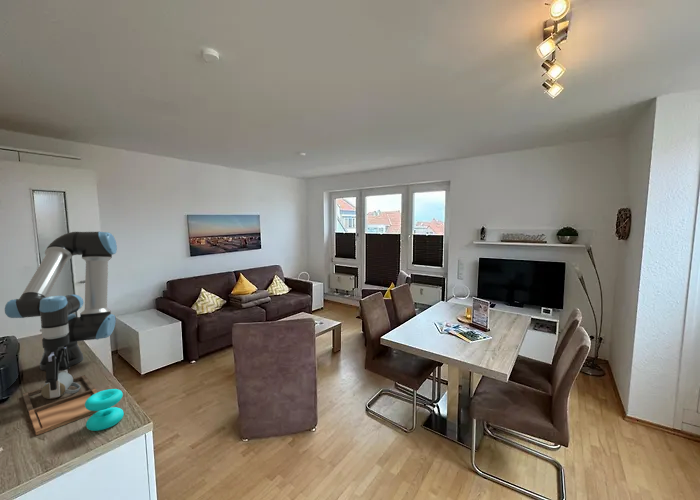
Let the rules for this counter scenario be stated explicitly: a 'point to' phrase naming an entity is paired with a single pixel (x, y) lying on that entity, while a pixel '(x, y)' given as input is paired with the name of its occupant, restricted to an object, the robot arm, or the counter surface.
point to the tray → (59, 409)
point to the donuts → (104, 409)
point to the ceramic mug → (61, 385)
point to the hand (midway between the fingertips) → (59, 391)
